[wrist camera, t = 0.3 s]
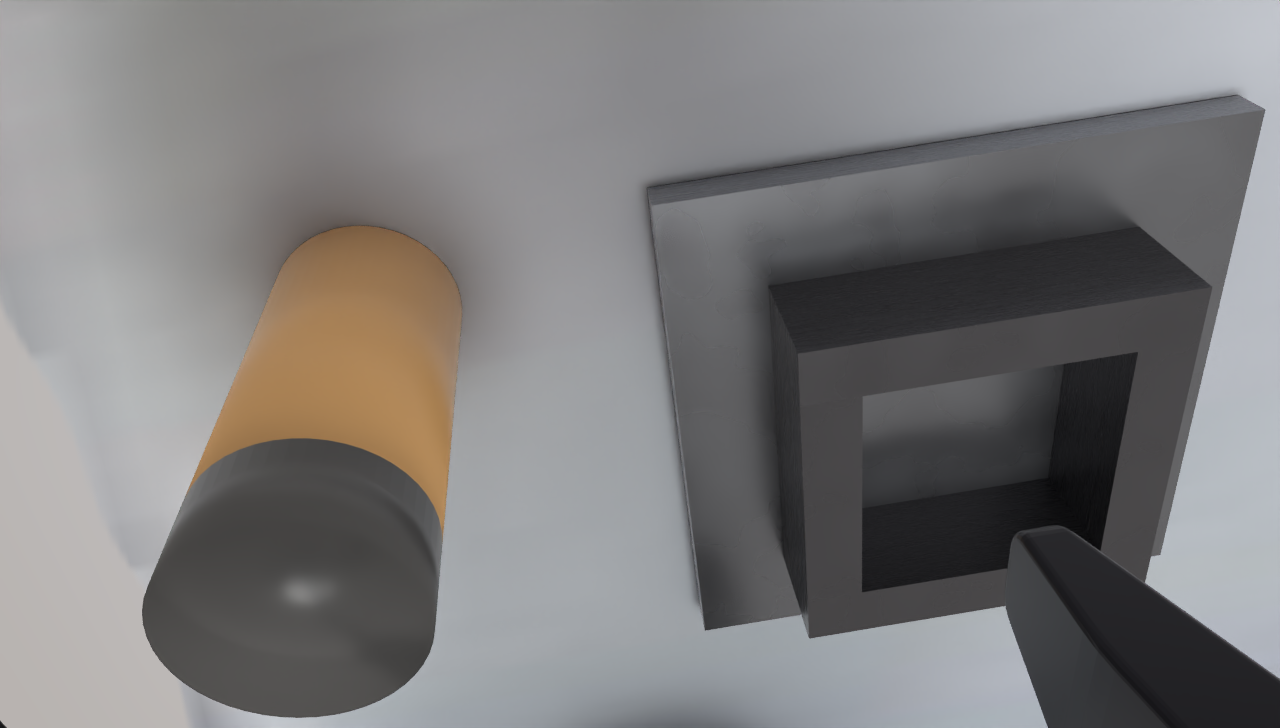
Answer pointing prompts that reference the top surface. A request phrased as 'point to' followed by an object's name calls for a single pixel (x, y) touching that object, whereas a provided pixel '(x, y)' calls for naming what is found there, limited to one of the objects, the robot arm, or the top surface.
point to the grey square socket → (942, 357)
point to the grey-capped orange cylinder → (320, 489)
